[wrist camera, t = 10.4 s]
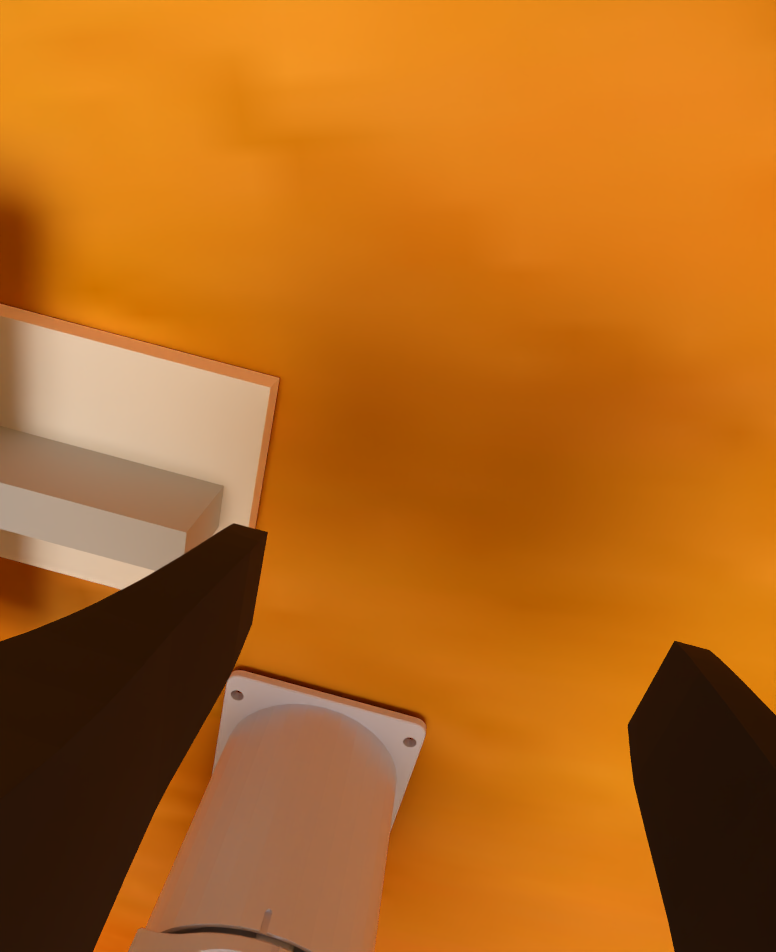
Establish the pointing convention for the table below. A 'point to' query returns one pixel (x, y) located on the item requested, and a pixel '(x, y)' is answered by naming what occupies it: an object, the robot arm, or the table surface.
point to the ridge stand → (121, 449)
